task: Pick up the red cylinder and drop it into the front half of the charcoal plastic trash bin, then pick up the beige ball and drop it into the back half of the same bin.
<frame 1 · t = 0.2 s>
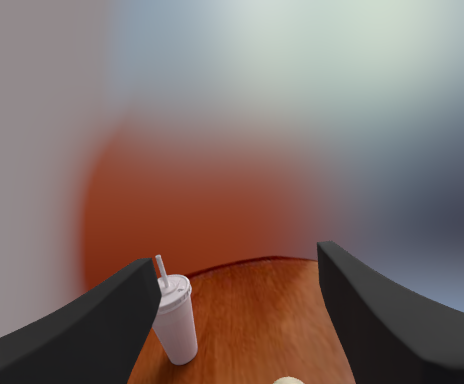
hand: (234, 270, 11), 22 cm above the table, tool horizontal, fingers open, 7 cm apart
smoothie: (184, 353, 35), on the table
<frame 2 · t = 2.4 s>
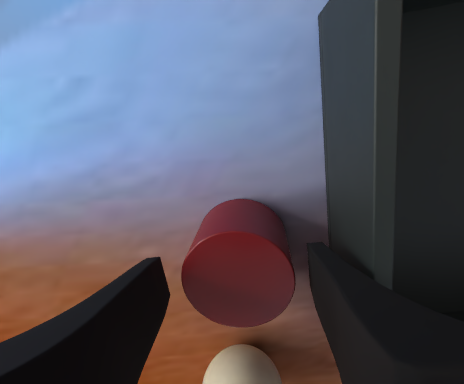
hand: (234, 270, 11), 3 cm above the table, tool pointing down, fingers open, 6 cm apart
red cylinder: (242, 239, 14), on the table
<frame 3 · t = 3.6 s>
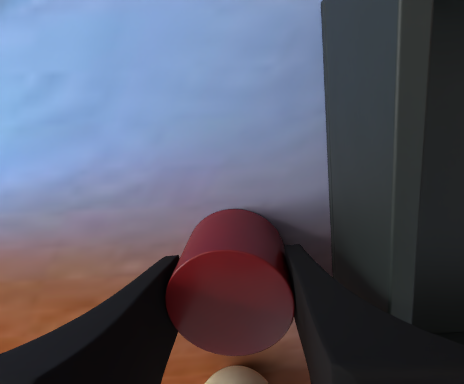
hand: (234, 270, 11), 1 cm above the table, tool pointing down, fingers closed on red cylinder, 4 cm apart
red cylinder: (235, 252, 13), on the table, touching gripper
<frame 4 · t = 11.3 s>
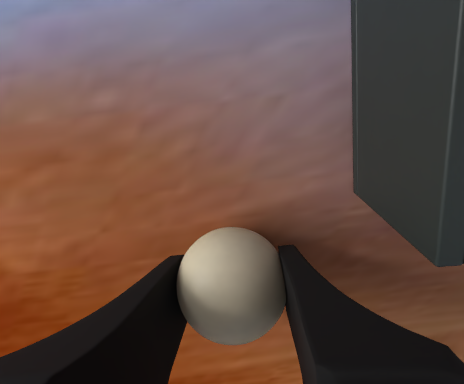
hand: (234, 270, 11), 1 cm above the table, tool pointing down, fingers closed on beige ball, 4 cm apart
beige ball: (232, 282, 11), point 2 cm above the table, touching gripper
when the fingers open (3 cm above the table, at t = 16.1 s): beige ball drops 1 cm, resting on bin.
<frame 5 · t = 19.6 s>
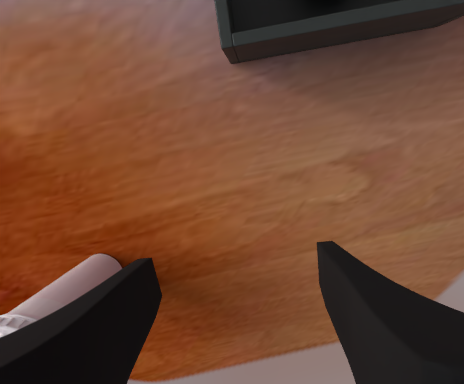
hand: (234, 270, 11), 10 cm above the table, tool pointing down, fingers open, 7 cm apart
smoothie: (105, 269, 25), on the table
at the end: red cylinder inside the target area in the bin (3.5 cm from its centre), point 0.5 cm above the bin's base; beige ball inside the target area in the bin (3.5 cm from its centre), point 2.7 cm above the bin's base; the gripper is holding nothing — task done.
